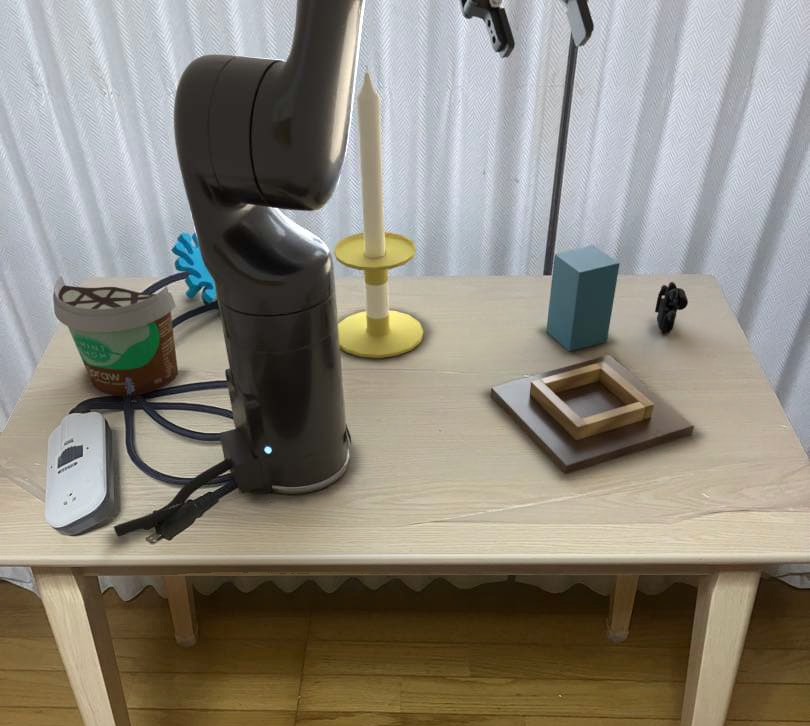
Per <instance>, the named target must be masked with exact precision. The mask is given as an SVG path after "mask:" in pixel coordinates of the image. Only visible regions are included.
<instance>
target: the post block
mask: <svg viewBox="0 0 810 726" xmlns="http://www.w3.org/2000/svg"><path fill="white" fill-rule="evenodd" d="M620 265H621V264H620V262H619V261H617V260H616V259H615V258H613V257H612V256H611V255H609V254H607V253H606V252H604V251H603V250H601V249H600V248H599V247H597V246H596V245H595V244H591V245H587V246H583V247H578V248H574V249H570V250H565V251H560V252H557V253H554V256H553V267H552V275H551V282H550V283H551V284H550V294H549V304H548V312H547V321H546V330H545V331H546V333H548V334H549V335H550V336H551V337H552V338H553V339H554V340H556V341H557V342H558V343H559V344H560V345H561V346H563V348H565V349H566V350H567V351H569V352H573V351H576V350H580V349H584V348H587V347H591V346H595V345H600V344H602V343H606V342H608V338H609V331H610V325H611V320H612V313H613V308H614V307H613V306H614V301H615V296H616V295H615V294H616V290H617V289H616V288H617V283H618V277H619V269H620Z"/></svg>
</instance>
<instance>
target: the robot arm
mask: <svg viewBox="0 0 810 726" xmlns="http://www.w3.org/2000/svg"><path fill="white" fill-rule="evenodd" d="M365 2H366V0H296V8H295V9H296V10H295V11H296V13H295V21H294V32H293V38H292V43H291V48H290V52H289V54H288V56H287V57H286V58H287V59H279V58H278V59H277V58H265V57H255V56H245V55H231V54H205V55H201V56H199V57H197V58H195V59H193V60H191V62H190V63H189V64H188V65H187V66H186V68H184V70H183V72H182V74H181V76H180V78H179V80H178V84H177V87H176V90H175V95H174V96H175V97H174V103H173V131H174V132H173V133H174V142H175V143H174V144H175V150H176V154H177V161H178V165H179V170H180V175H181V179H182V183H183V187H184V191H185V196H186V199H187V203H188V207H189V211H190V215H191V220H192V224H193V228H194V233H195V232H196V236H197V241H198V245H199V249H200V253H201V257H202V260H203V262H204V265H205V267H206V269H207V270H208V272H209V274H210V275H211V277H212V279H213V281H214V285H215V290H216V292H215V296H216V298H217V304H218V309H219V310H218V311H219V317H220V321H221V326H222V333H223V338H224V343H225V350H226V355H227V360H228V365H229V367H228V368H226V369H225V370H224V374H225V380H226V385H227V390H228V396H229V403H230V407H231V412H232V417H233V418H232V419H233V423H234V428H233V429H229V430H225V431H222V432H219V439H220V445H221V448H222V450H221V451H222V454H223V460H222V461H220V462H218V463H217V464H215V465H213V466H212V467H210V468H208V469H206V470H204V471H202V472H201V473H199V474H198V475H196V476H194V477H193V478H192V479H190V480H189V481H188V482H186V483H185V484H184V486H182V487H181V489H179V490H178V492H177V494H176V495H175V496H174V497H173V499H172V500H171V501H169V502H168V503H167V504H165V506H163V507H161V508H160V509H158V510H156V511H154V512H151V513H149V514H146V515H144V516H141V517H138V518H134V519H131V520H128V521H125V522H122V523H120V524H117V525H114V526H113V529H114V532H115V534H116V536H117V537H118V538H119V537H121V536H124V535H128V534H130V533H133V532H136V531H138V530H141V529H142V530H143V529H145V528H148V527H150V526H151V527H152V526H153V525H155V524H156V525H157V524H159V523H160V522H162V521H164V520H166V519H168V518H170V517H171V516H172V515H174V514H175V513H177V512H178V511H179V510H180V509H181V508H182V507H183V506H184V504H185V503H186V501H188V499H189V498H190V497H191V495H192V494H193V493H195V492H196V491H197V490H198V489H200V488H201V487H203V486H204V485H206V484H207V483H209V482H211V481H212V480H214V479H216V478H217V477H219V476H221V475H223V474H225V473H226V472H228V471H229V473H230V474H231V476H232V478H233V480H234V483H235V484H236V485H237V488H238V491H239V492H240V494H244V493H247V492H250V491H251V492H252V491H254V490H257V492H258V494H260V495H266V494H269V493H279V494H285V495H300V494H308V493H313V492H316V491H319V490H321V489H324V488H326V487H329V486H330V485H332V484H334V483H335V482H337V481H338V480H339V479H340V478H342V477H343V476H344V475H345V473H346V471H347V470H348V467H349V464H350V460H351V459H350V448H349V444H352V436H351V433H350V431H349V426H348V424H347V419H346V407H345V396H344V395H345V394H344V383H343V370H342V368H343V367H342V356H341V348H340V341H339V328H338V324H339V316H338V302H337V291H336V279H335V278H336V277H335V266H334V259H333V255H332V252H331V251H330V249H329V247H328V246H327V244H326V243H325V242H324V241H323V240H322V239H320V238H319V237H318V236H317V235H315V234H313V233H312V232H311V231H309V230H307V229H305V228H304V227H301V226H300V225H299V224H297V223H295V222H294V221H292V219H290V218H288V217H287V216H286V215H285V214H283V213H282V211H280V210H288V211H294V212H295V211H297V212H316V211H319V210H321V209H322V208H324V207H325V206H326V205H327V204H328V203H329V202H330V200H332V197H333V195H334V193H335V191H336V189H337V187H338V185H339V183H340V179H341V176H342V174H343V169H344V165H345V161H346V157H347V156H346V155H347V152H348V151H347V150H348V146H349V145H348V144H349V139H350V132H351V126H352V125H351V124H352V116H353V108H354V101H355V100H354V99H355V89H356V80H357V73H358V72H357V71H358V63H359V54H360V45H361V37H362V27H363V19H364V11H365V4H366V3H365ZM458 2H459V6H460V11H461V15H462V16H463V18H465V19H467V20H471V19H473V17H474V18H478V19H480V20H481V21H482V22H483V23H484V24H485V27H486V31H487V34H488V38H489V40H490V44H491V48H492V49H493V51H494V52H495V53H498V56H499V58H501V59H504V58H509V57H510V56H511V54H512V52H513V51H514V49H515V45H516V43H515V39H514V38H515V37H514V35H513V32H512V27H511V26H510V25H511V24H510V22H509V18H508V14H507V12H506V8H505V7H501V5H502V2H503V0H458ZM557 2H559V4H561V5H562V6H563V8H565V9H566V12H565V14H566V18H567V21H568V25H569V28H570V32H571V35H572V38H573V42H574V45H575V46H576V47H577V48H578V47H585V46H586V44H587V43H588V41H589V40H590V39H591V37H592V34H593V32H594V29H595V25H594V21H593V17H592V15H591V10H590V8H589V4H588V2H590V0H557ZM348 440H349V441H348ZM180 503H183V504H181V505H179V506H177V507H175V508H171V509H167V508H169V507H170V506H173V505H176V504H180ZM164 509H167V510H164ZM163 510H164V511H163Z"/></svg>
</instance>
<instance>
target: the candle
mask: <svg viewBox="0 0 810 726" xmlns="http://www.w3.org/2000/svg"><path fill="white" fill-rule="evenodd" d="M365 69H366V71H365V72H364V76H363V82H362V86H361V88H360V91H359V92H358V94H357V95H356V110H357V111H356V112H357V114H356V115H357V128H358V129H357V130H358V131H357V132H358V150H359V151H358V152H359V169H360V170H359V171H360V188H361V190H360V191H361V207H362V209H361V210H362V228H363V232H358V233H355V234H351V235H349V236H346V237H344V238H343V239H341V240H339V241H338V242H337V243H336V244H335V247H333V254H334V256H335V260H336V261H337V262H338V263H340V264H341V265H343V266H345V267H346V268H349V269H354V270H357V271H363V282H364V300H365V302H364V303H365V311H360V312H357V313H355V314H351V315H349V316H346V317H345V318H344V319H342V320H340V322H338V328H339V341H340V350H342V351H344V352H345V353H348V354H351V355H354V356H357V357H361V358H369V359H370V358H372V359H373V358H374V359H382V358H390V357H396V356H400V355H402V354H404V353H408V352H410V351H412V350H413V349H414V348H415V347H417V346H418V345H419V344H420V343H421V342H422V340H423V336H424V329H423V327H422V325H421V323H420V321H419V320H417V319H416V318H415V317H413V316H411V315H409V314H407V313H403V312H400V311H396V310H390V301H389V297H390V296H389V272H388V271H389V270H392V269H396V268H398V267H402V266H405V265H406V264H407V263H408V262H410V261H412V260H413V259H414V257H415V254H416V251H417V247H416V245H415V244H414V241H413V240H411V239H410V238H408V237H406V236H405V235H403V234H399V233H395V232H391V231H389V232H388V231H385V209H384V207H385V206H384V180H383V174H384V173H383V152H382V151H383V148H382V146H383V145H382V122H381V118H382V117H381V116H382V115H381V96H380V93H379V92H377V90H376V88H375V87H374V84H373V80H372V78H371V74H370V73H371V72H369V68H368V65H367V64H366V65H365Z"/></svg>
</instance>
